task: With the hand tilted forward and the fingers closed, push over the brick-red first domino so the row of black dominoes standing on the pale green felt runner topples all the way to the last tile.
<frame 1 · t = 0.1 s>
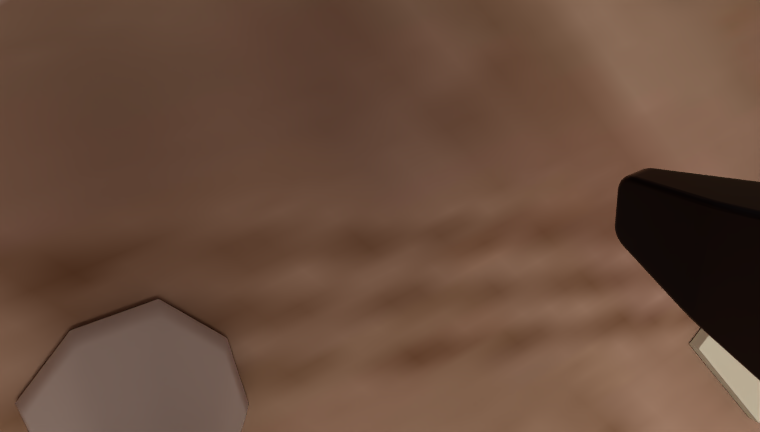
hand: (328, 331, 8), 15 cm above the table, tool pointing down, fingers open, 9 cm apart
flask: (139, 397, 23), on the table
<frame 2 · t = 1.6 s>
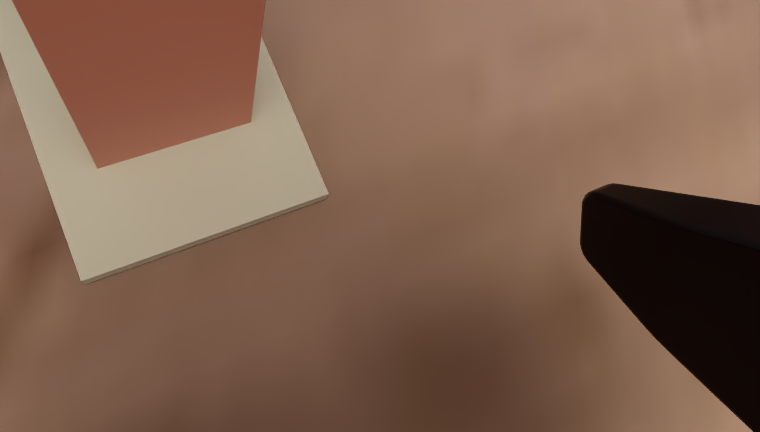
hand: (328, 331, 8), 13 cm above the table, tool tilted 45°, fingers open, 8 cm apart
domino 1: (168, 122, 21), point 1 cm above the table, touching felt runner
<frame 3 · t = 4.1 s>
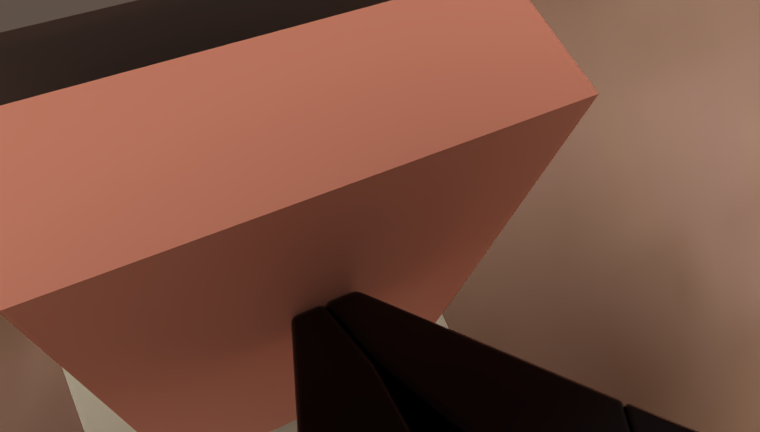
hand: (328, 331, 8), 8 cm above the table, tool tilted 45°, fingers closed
domino 1: (285, 383, 14), point 1 cm above the table, tilted 11°, touching felt runner
domino 2: (217, 219, 15), point 1 cm above the table, touching felt runner
felt runner: (158, 81, 16), on the table
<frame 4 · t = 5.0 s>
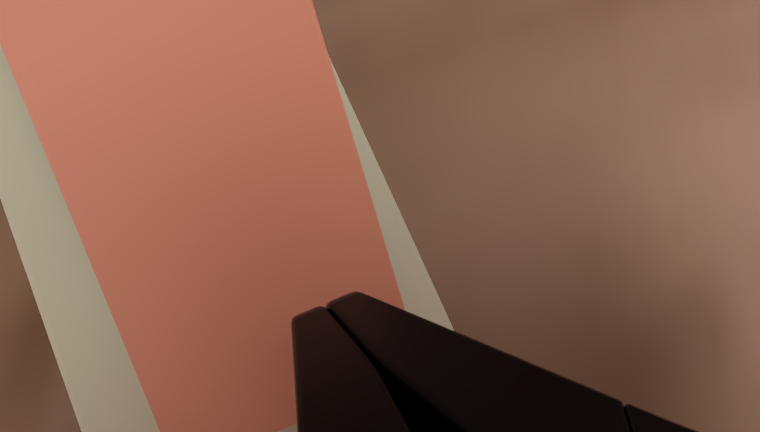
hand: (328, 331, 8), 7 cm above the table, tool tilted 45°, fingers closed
domino 1: (297, 402, 13), point 1 cm above the table, tilted 66°, touching domino 2
felt runner: (179, 127, 16), on the table
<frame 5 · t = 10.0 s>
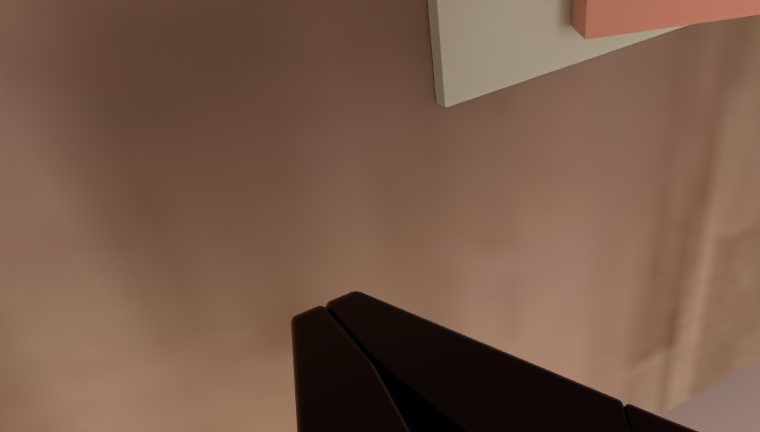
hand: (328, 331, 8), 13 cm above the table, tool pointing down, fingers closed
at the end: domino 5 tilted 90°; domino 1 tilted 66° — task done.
